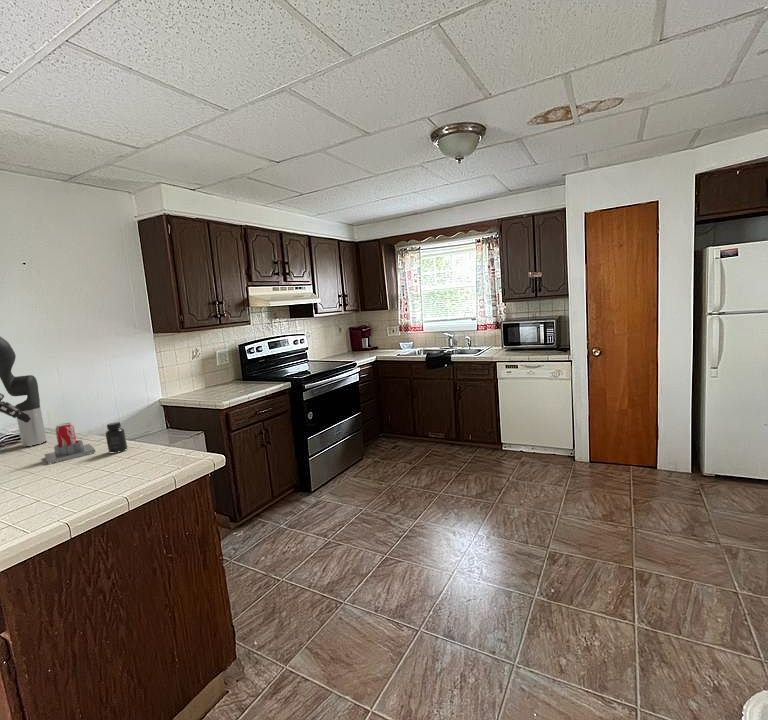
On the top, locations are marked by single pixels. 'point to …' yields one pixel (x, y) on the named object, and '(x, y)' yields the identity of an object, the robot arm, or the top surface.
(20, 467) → the top surface
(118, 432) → the supplement bottle
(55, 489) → the top surface
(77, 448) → the duct collar
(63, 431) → the beverage can
